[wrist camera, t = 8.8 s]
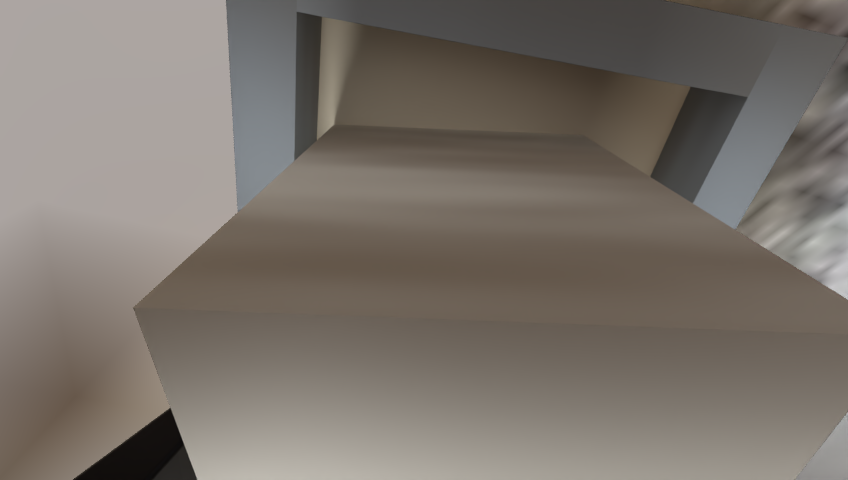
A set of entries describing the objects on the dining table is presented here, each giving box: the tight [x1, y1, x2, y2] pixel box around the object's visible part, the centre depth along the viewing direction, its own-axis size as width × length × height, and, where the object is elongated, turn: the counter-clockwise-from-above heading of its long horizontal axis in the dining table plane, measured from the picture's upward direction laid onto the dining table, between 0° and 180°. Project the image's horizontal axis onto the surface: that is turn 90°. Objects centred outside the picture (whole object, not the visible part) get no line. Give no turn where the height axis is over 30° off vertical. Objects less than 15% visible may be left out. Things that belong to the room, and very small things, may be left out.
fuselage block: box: [133, 125, 848, 480], centre depth 8 cm, size 11×5×6 cm, turn 178°
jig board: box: [226, 0, 848, 229], centre depth 10 cm, size 16×9×2 cm, turn 170°
